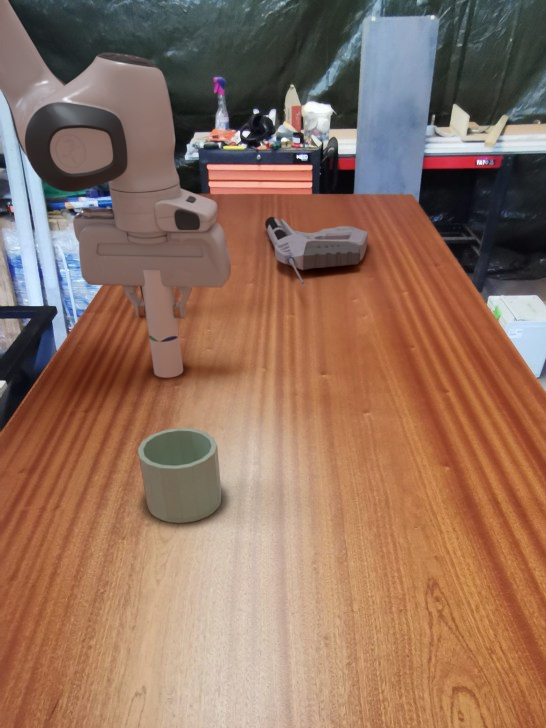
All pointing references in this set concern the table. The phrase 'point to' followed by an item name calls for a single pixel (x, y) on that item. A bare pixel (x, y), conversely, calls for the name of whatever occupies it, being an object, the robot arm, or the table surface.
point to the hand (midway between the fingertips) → (161, 316)
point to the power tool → (316, 246)
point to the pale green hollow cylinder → (180, 474)
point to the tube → (162, 326)
